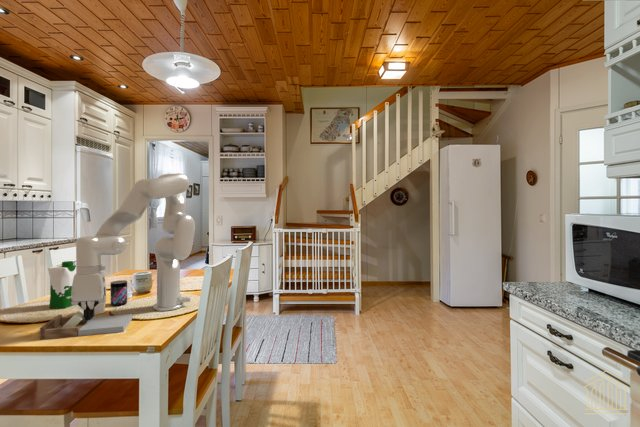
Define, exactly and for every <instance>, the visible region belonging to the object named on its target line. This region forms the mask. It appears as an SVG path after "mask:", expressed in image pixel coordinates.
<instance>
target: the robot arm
mask: <svg viewBox="0 0 640 427" xmlns="http://www.w3.org/2000/svg"><path fill="white" fill-rule="evenodd" d="M189 187H190V179H189V178H188V176H186V175H185V174H183V173H179V172H178V173H165V174H161V175H159V176H158V177H156V178H143V179H139V180H138V181H136V182H135V183H134V184H133V186H132V188H131V190H130V191H129V193H128V194H127V196H126V197H125V199H124V200H123V202H122V204H121V205H120V206H119V207H118V209H117V210H116V211H115V212H113V213H112V214H111V215H110V216H109V217H108V218H107V219H106V220H105V221H104V222H103V224H102V225H101V226H100V228H99V229H98V231H97V232H96V233H95V235H94V236H81V237H78V238H77V239H76V241H75V263H76V264H75V265H76V274H75V275H74V278H73V283H72V292H71V299H72V302H71V304H72V306H78V307H80V308H81V310H82V311H83V312H84V318H85V321H86V320H91V319H92V318H93V317H95V315H94V307H95V306H96V305H97V304H100V303H104V302H105V301H107V284H106V283H107V282H106V277H105V273H104V272H103V271H105V270H106V266H105V265H102V256H103V255H104V256H114V255H119V254H121V253H123V252H124V251H125V249H126V247H127V242H126V240H125V239H124V238H123V237H122V236H119V234H120V233H121V232H122V231H123V230H124V229H125V228H126V227H128V226H129V225H131V224H132V223H135V222H137V221H138V220H140V219H141V218H142V216H144V213H145V211H146V209H147V208H148V207H149V204H150V203H151V202H152V200H160V199H165V209H164V214H163V219H162V223H161V224H162V225H161V226H162V230H163V232H164V233H165V234H166V233H167V234H168V235H173V237H171V236H166V237H161V238H160V239H158V240H157V241H156V243H155V245H154V255H155V260H156V303H155V304H153V306H152V309H153V310H154V311H160V312H165V311H166V312H167V311H168V312H169V311H173V310H178V309H181V308H182V307H184V303H190V302H191V297H188V296H185V297H183V296H182V294H181V277H180V276H181V265H180V261H184V260H186V259H188V258H189V256H190V254H191V252H192V249H193V245H194V238H195V232H196V221H195V220H194V218H193V217H192V216H191V215H189V214H186V209H187V208H186V207H187V200H186V197H185V195H184V193H185V192H186V191H188V189H189ZM105 296H106V298H105ZM88 301H91V302H90V307H89V306H88Z"/></svg>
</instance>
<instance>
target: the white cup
mask: <svg viewBox="0 0 640 427" xmlns="http://www.w3.org/2000/svg"><path fill="white" fill-rule="evenodd" d="M105 298H106V299H107V295H106V296H105ZM106 301H107V300H106ZM106 301H105V302H104V303H100V304H97V305H96V306H95V307H94V316H95V315H100V314H103V313H105V311H106ZM90 302H91V301H88V306H89V307H90Z"/></svg>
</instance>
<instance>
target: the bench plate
mask: <svg viewBox="0 0 640 427" xmlns="http://www.w3.org/2000/svg"><path fill="white" fill-rule="evenodd" d="M132 320H133V314H132V313H130V314H129V313H128V314H117V315H116V314H115V315H105V316H94V317H93V318H92V319H91V320H88V321H87V322H86V323H85V324H82V326H80V328H79V330H78V336H77V337H81V336H94V335H102V334H103V335H105V334H113V333H124V332H125V330H126V329H127V327H128V326H129V324H130V323H131V322H132Z"/></svg>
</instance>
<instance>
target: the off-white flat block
mask: <svg viewBox="0 0 640 427" xmlns="http://www.w3.org/2000/svg"><path fill="white" fill-rule="evenodd" d="M72 316H73V317H72V318H71V319H70V320H69V321H68V322H67V323H66V324H65V325H64V326H61V328H66V327H77V325H79V324H78V323H79V322H80V321H81V320H82V319H83V318H84V310H82V309H79V310H78V311H76V313H75V314H73V315H72Z"/></svg>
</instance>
